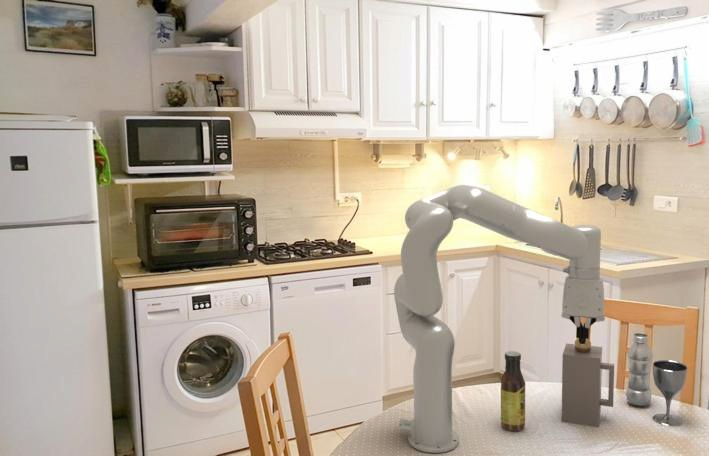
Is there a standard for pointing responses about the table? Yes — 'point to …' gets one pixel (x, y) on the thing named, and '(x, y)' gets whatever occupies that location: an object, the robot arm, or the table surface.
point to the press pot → (584, 385)
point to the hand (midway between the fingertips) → (582, 340)
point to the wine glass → (669, 387)
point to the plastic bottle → (639, 371)
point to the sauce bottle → (512, 394)
